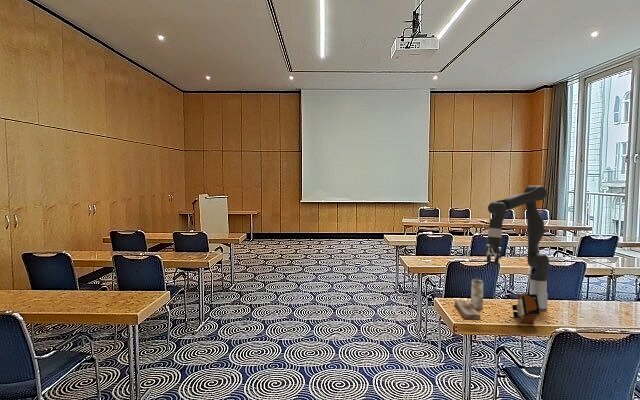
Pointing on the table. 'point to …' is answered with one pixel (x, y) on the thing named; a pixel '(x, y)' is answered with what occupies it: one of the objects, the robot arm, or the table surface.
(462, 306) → the walnut board
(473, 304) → the pale block with peg
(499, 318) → the table surface
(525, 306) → the toy
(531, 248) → the robot arm
